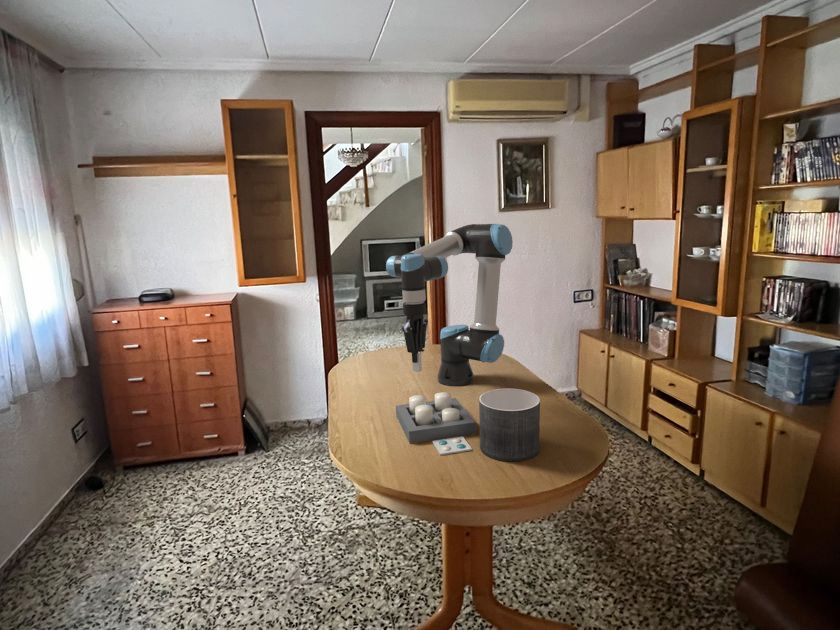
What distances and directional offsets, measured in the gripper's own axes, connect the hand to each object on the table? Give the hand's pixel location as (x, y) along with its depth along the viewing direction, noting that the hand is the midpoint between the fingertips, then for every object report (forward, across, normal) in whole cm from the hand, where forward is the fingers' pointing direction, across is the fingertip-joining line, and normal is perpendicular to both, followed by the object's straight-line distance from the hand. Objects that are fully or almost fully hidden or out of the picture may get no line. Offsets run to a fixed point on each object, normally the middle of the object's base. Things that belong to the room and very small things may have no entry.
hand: (417, 370), depth 174 cm
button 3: (+15, -6, +6) cm, 18 cm away
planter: (+19, +5, +34) cm, 39 cm away
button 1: (+15, 0, 0) cm, 15 cm away
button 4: (+18, 0, +12) cm, 22 cm away
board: (+18, 0, +6) cm, 19 cm away
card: (+18, +12, +18) cm, 28 cm away
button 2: (+15, +7, +6) cm, 18 cm away
